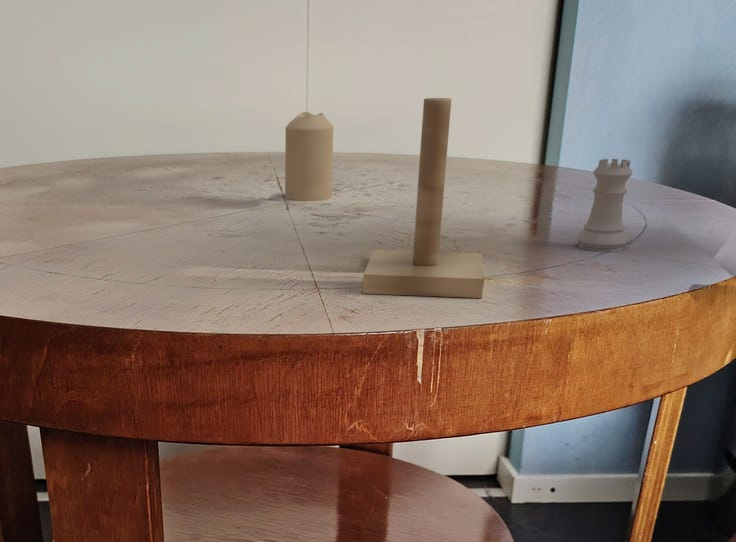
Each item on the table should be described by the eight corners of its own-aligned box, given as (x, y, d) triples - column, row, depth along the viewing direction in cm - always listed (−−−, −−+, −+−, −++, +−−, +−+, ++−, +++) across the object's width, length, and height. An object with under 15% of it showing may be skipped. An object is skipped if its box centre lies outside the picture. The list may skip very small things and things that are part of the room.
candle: (277, 202, 109) (278, 112, 104) (319, 199, 111) (321, 110, 106) (296, 209, 104) (297, 115, 100) (339, 205, 106) (342, 113, 101)
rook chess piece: (619, 262, 78) (636, 164, 74) (567, 257, 80) (581, 161, 76) (630, 253, 81) (647, 159, 78) (580, 248, 83) (594, 156, 80)
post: (479, 271, 76) (498, 95, 69) (481, 298, 68) (502, 102, 62) (372, 267, 77) (381, 95, 71) (362, 293, 69) (371, 102, 63)
